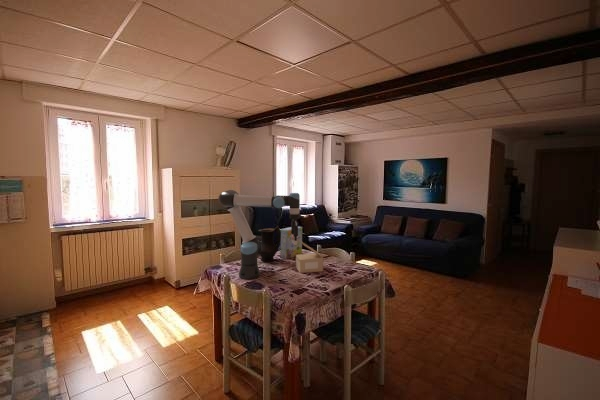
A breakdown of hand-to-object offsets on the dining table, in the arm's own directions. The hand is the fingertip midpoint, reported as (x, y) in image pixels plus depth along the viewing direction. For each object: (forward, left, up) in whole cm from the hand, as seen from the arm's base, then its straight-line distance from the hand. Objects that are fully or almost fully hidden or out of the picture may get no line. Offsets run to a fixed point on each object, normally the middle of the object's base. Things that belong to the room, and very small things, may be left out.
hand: (294, 243), depth 217 cm
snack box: (+6, +38, -21) cm, 44 cm away
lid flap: (+8, 0, -4) cm, 9 cm away
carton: (+12, 0, -21) cm, 24 cm away
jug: (-16, +28, -21) cm, 39 cm away
